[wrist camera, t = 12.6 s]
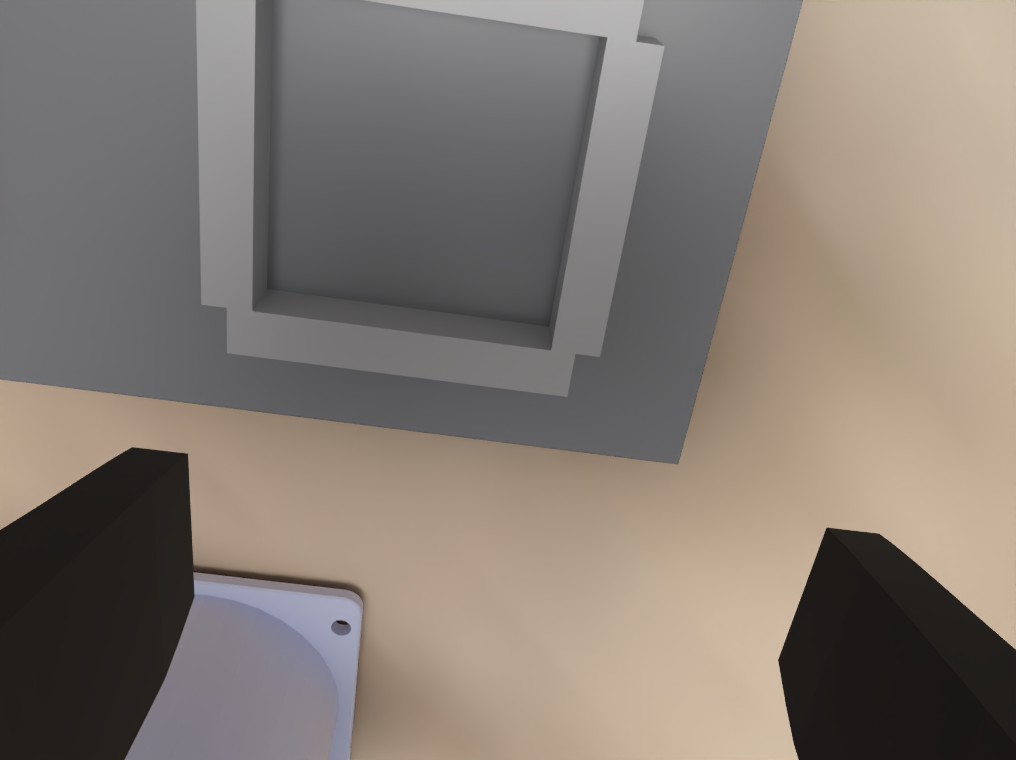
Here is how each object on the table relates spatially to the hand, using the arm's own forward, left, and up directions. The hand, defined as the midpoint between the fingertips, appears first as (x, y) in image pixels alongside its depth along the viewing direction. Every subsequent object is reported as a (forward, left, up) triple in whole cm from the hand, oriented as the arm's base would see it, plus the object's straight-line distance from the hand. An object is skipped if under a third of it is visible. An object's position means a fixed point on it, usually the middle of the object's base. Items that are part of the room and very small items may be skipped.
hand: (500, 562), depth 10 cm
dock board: (+2, +9, -10) cm, 14 cm away
